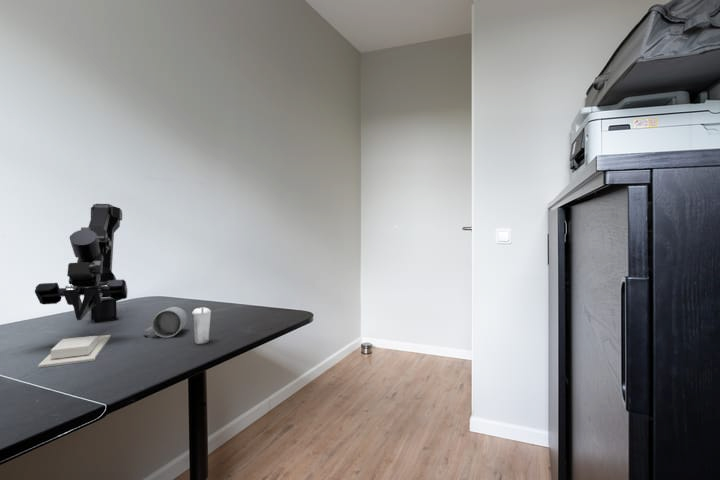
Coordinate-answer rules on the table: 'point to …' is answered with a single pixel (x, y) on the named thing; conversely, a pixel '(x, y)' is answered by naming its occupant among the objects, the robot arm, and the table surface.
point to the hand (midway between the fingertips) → (78, 319)
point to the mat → (77, 359)
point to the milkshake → (201, 324)
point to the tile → (74, 347)
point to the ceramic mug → (168, 322)
